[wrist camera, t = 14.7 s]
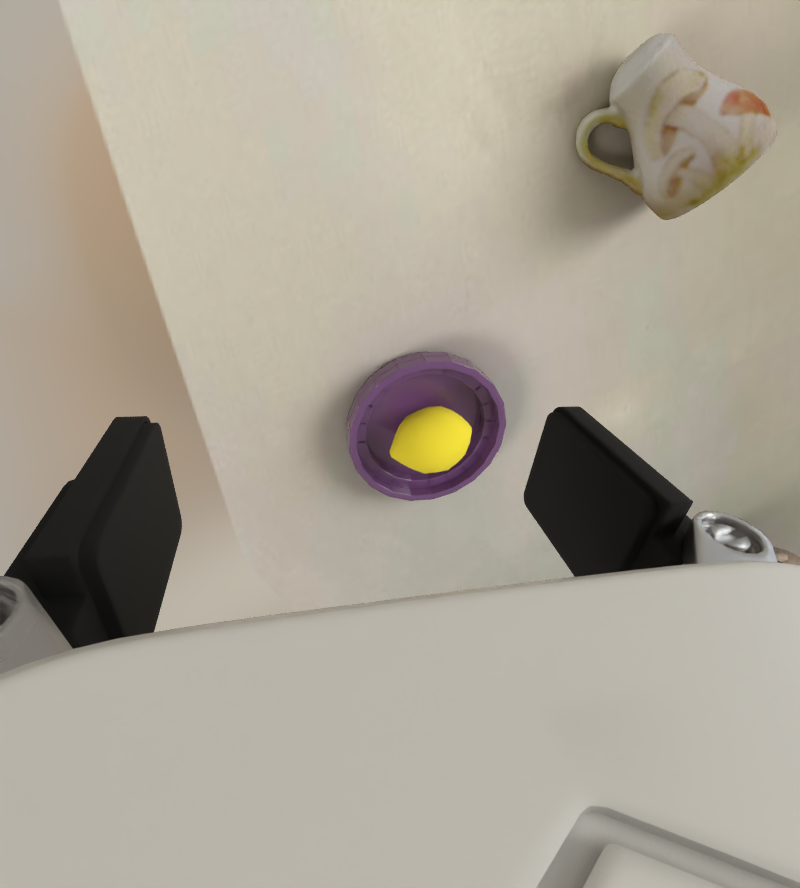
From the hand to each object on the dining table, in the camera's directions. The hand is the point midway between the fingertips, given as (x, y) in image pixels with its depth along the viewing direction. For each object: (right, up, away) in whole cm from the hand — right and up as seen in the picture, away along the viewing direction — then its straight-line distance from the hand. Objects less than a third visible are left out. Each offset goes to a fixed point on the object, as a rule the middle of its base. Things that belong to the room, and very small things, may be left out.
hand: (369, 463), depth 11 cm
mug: (+17, +22, +19) cm, 34 cm away
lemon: (+3, +2, +27) cm, 28 cm away
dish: (+3, +2, +28) cm, 28 cm away
